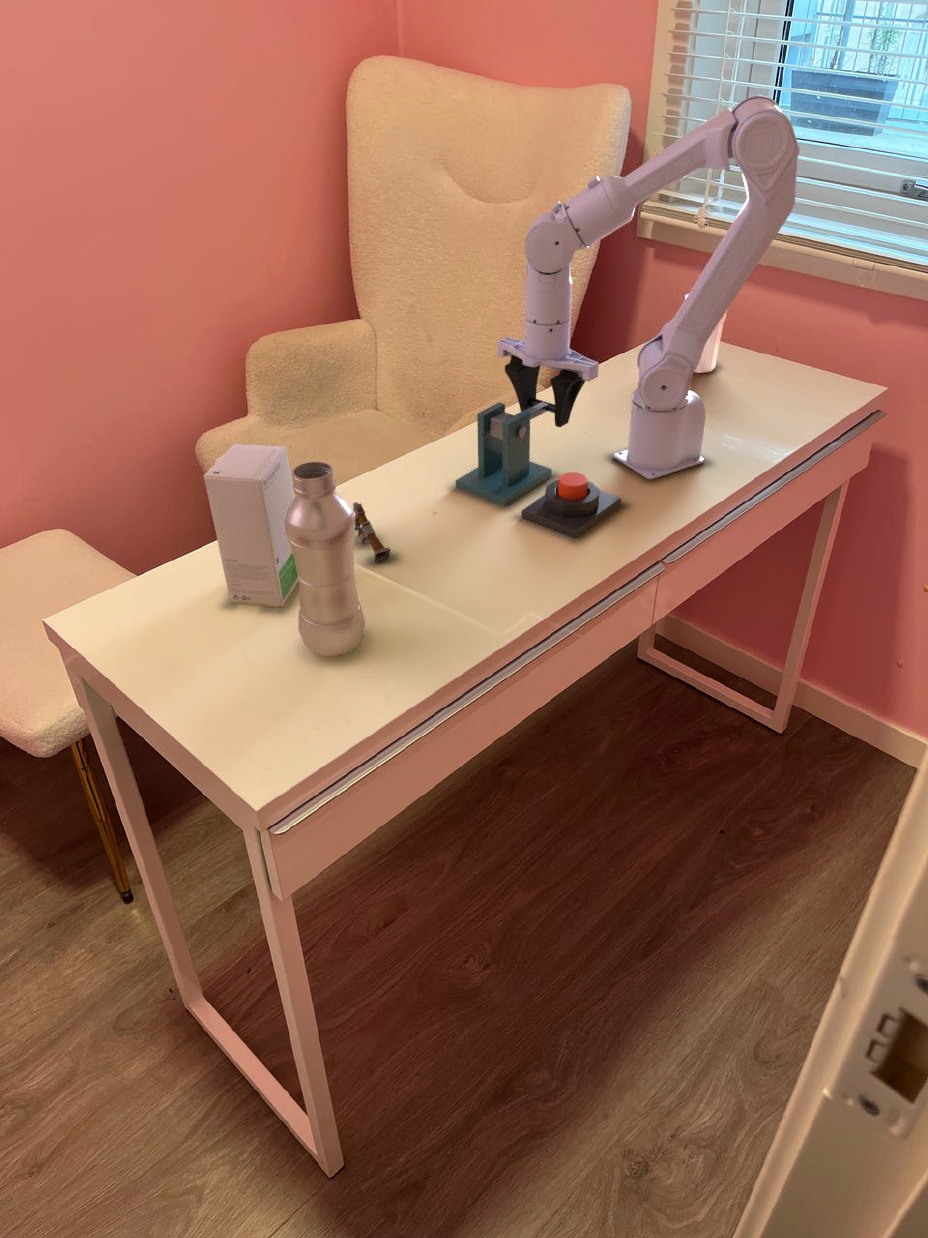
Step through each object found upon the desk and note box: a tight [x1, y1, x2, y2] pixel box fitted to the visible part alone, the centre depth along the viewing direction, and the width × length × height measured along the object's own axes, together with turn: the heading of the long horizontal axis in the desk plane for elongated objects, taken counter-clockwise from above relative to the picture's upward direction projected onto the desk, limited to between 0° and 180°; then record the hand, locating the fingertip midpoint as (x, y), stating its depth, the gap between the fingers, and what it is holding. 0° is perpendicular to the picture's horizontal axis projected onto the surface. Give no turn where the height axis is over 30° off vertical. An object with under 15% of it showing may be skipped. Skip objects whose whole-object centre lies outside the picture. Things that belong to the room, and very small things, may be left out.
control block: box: [521, 479, 622, 540], centre depth 119 cm, size 10×8×3 cm
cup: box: [684, 294, 728, 374], centre depth 153 cm, size 7×7×11 cm
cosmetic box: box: [203, 443, 299, 608], centre depth 104 cm, size 8×7×16 cm
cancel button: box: [557, 471, 589, 500], centre depth 118 cm, size 4×4×2 cm
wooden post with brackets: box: [352, 501, 391, 563], centre depth 114 cm, size 2×8×4 cm, turn 29°
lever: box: [490, 398, 555, 440], centre depth 125 cm, size 11×5×2 cm, turn 140°
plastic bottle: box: [284, 461, 366, 657], centre depth 94 cm, size 6×7×20 cm
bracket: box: [455, 401, 552, 507], centre depth 124 cm, size 10×8×10 cm
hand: (544, 418), depth 129 cm, fingers closed on lever, 5 cm apart
